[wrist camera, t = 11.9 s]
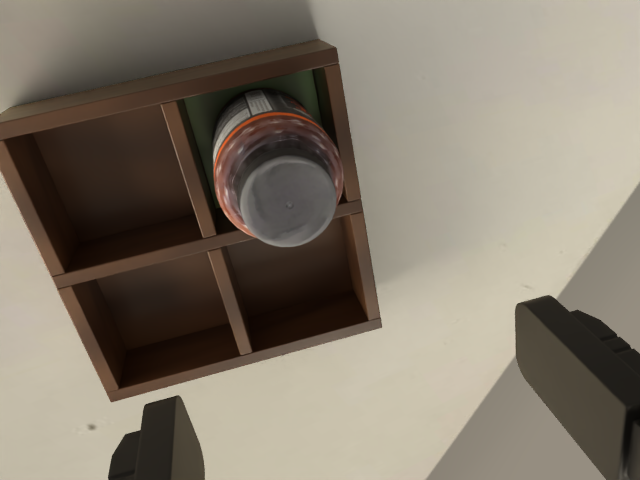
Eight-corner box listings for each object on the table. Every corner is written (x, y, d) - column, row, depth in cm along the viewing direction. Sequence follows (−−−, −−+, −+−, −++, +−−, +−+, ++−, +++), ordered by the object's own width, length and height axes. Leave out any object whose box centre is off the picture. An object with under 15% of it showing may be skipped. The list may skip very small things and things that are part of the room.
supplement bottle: (332, 142, 33) (389, 211, 23) (257, 203, 34) (280, 297, 24) (269, 62, 30) (302, 100, 20) (189, 130, 31) (182, 200, 21)
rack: (9, 107, 29) (-22, 127, 25) (318, 38, 31) (336, 47, 27) (120, 357, 37) (110, 402, 33) (363, 291, 39) (382, 327, 35)
